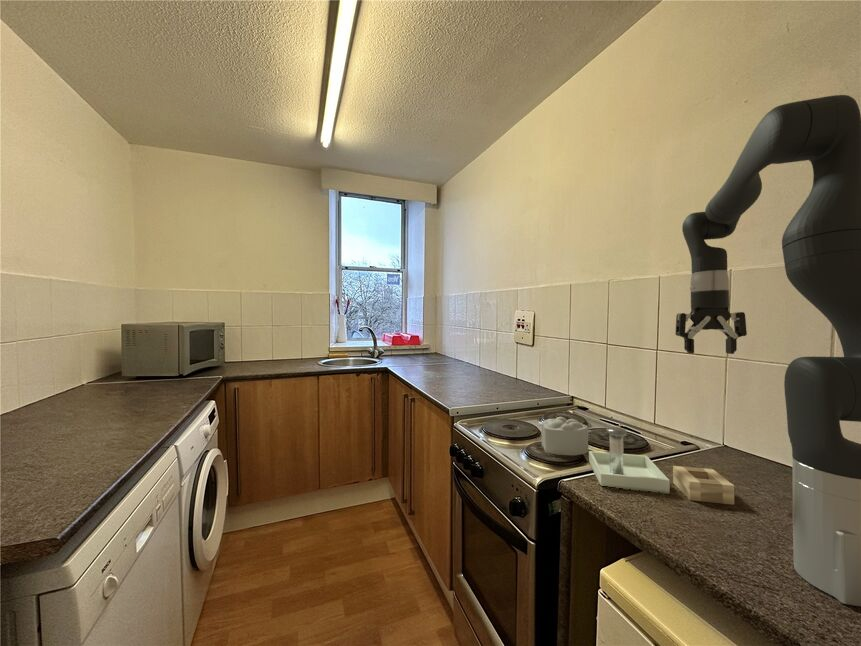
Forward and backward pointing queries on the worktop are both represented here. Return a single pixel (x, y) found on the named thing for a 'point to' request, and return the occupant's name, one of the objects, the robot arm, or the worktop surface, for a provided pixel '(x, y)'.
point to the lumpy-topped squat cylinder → (564, 436)
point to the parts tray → (630, 473)
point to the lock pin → (616, 449)
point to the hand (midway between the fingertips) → (710, 353)
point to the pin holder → (703, 485)
